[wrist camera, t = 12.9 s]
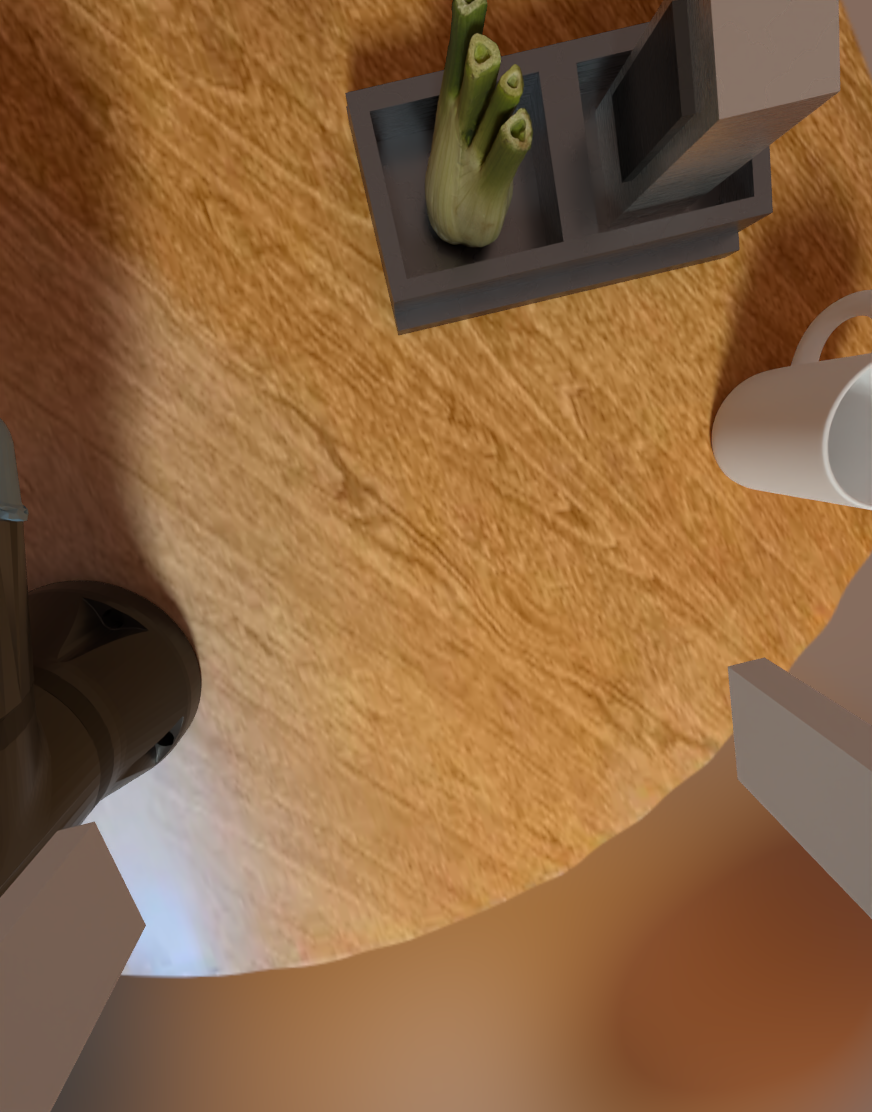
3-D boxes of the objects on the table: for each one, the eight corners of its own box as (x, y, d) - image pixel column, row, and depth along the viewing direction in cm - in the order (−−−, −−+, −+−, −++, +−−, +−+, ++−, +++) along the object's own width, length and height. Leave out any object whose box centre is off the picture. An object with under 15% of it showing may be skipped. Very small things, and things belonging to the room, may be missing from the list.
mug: (736, 303, 34) (876, 251, 24) (849, 320, 35) (1030, 277, 25) (694, 482, 37) (803, 502, 27) (799, 494, 37) (943, 518, 27)
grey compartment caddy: (398, 335, 33) (396, 281, 21) (349, 122, 30) (313, -87, 18) (724, 257, 33) (911, 159, 21) (708, 37, 30) (915, -226, 18)
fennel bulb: (423, 144, 29) (438, -44, 17) (507, 149, 29) (576, -32, 18) (422, 256, 31) (435, 151, 19) (502, 260, 31) (563, 158, 19)
